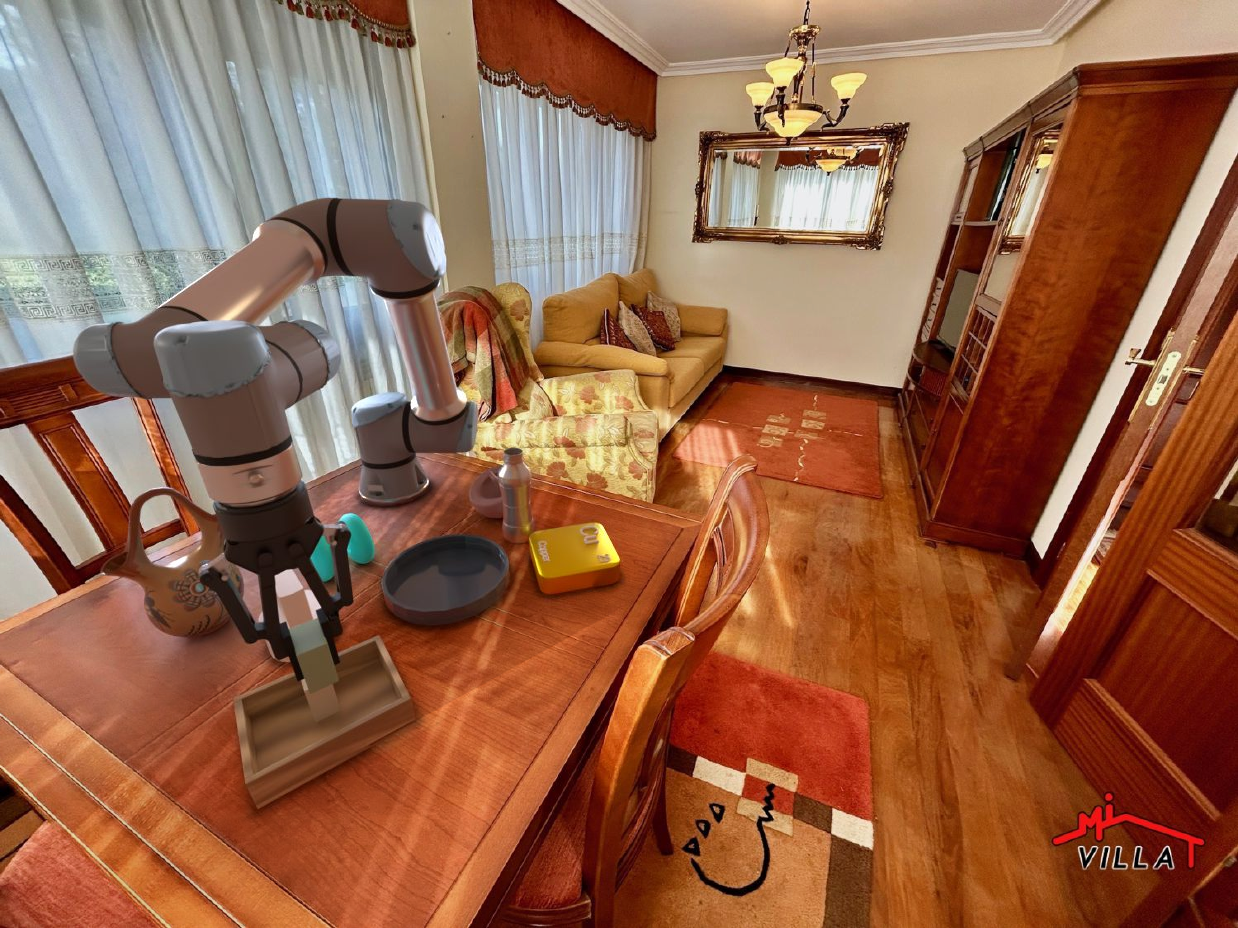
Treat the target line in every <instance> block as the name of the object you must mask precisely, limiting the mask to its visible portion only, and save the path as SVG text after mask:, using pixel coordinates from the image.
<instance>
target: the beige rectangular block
mask: <svg viewBox="0 0 1238 928" xmlns="http://www.w3.org/2000/svg"><path fill="white" fill-rule="evenodd" d="M301 682H302V685H303V689H304V692H305V695H306V698H307V700H308V703H309V706H310V709H311V711H312V714H313V717H314V720H315V722H316V723H317V722H319V721H321V720H323V719H325V718H327V717H329V716H331V715H333V714H335V713H337V712H339V711H341V709H340V706H339V703H338V700H337V696H336V693H335V690H334V687H333V684H331V685H329V686H327V687H325V688H322V689H320V690H318V691H316V692H314V693H312V694H310V693H309V690H308V687H307V684H306V681H305V679H303V680H301Z"/></svg>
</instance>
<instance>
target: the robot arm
mask: <svg viewBox="0 0 1238 928" xmlns="http://www.w3.org/2000/svg"><path fill="white" fill-rule="evenodd" d="M445 251H446V247H445V241H444V239H443V235H442V232H441V229H440V226H439V224H438V222H437V220H436V217H435V216H434V214H433V213H432V212H431V210H430V209H429V208H428V207H426V205H425V204H423V203H421V202H418V201H409V200H402V199H399V198H392V199H376V198H375V199H374V198H340V197H320V198H316V199H311V200H308V201H304V202H302V203H299V204H296V205H294V206H292V207H289V208H287V209H285V210H283V211H281V212H279V213H277V214H275V215H273V216H271V217H269V219H266V220H265V221H264V222H262V223H261V224H259V225H258V226H257V227H256V228H255V230H254V232H253V235H252V240H251V241H250V242H249V243H248V244H246V245H245V246H243V247H242V248H241V249H239V250H238V251H236V252H235V253H233V254H232V255H230V256H229V257H227V258H226V259H225V260H224V261H222V262H221V263H219V264H217V265H216V266H215V267H213V268H212V269H211V270H209V271H208V272H206V273H205V274H203V275H202V276H201V277H199V278H197V279H196V280H194V281H193V282H192V283H191V284H189V285H188V286H186V287H185V288H183V289H182V290H181V291H179V292H178V293H176V294H175V295H173V296H172V297H170V298H169V299H168V300H166V301H165V302H163V303H162V304H161V305H159V306H158V307H156V308H155V309H153V310H152V311H150V312H149V313H147V314H145V315H144V316H143V317H141V318H140V319H138V320H136V321H134V322H129V323H125V322H123V321H112V322H109V323H98V324H92V325H90V326H87V327H85V328H84V329H83V330H81V332H79V334H78V335H77V337H76V339H75V340H74V344H73V348H72V358H73V361H74V365H75V368H76V370H77V372H78V373H79V374H80V375H81V377H82V379H83V380H84V381H85V382H86V384H88V386H90V387H91V388H92V389H94V390H96V391H97V392H99V393H101V394H104V395H107V396H110V397H120V398H139V399H143V400H152V399H171V401H172V402H173V406H174V408H175V411H176V413H177V415H178V417H179V420H180V423H181V425H182V427H183V429H184V432H185V434H186V437H187V439H188V441H189V444H190V447H191V452H192V455H193V457H194V461H195V464H196V466H197V469H198V471H199V474H200V476H201V477H200V478H202V482H203V484H204V487H205V490H206V492H207V495H208V498H210V499H211V500H212V501H213V503H212V508H213V511H214V514H216V516H217V519H218V521H219V524H220V527H221V529H222V532H223V534H224V537H225V544H224V547H223V551H224V553H223V554H221V555H220V556H218V557H217V558H215V559H214V560H212V561H208V560H206V561H203V562H201V563H200V564H199V566H198V569H199V579H200V582H201V583H202V584H204V585H205V586H207V587H208V588H210V589H211V590H213V591H214V592H216V593H217V595H218V597H219V598H220V600H221V602H222V603H223V605H224V607H225V609H226V610H227V612H228V614H229V615H230V617H231V619H230V620H232V623H233V624H234V625H235V627H236V629H237V631H238V633H239V634H240V636H241V637H242V639H243V641H244V643H246V644H247V645H253V644H255V643H257V642H258V641H263V640H264V641H265V640H268V641H269V643H270V645H271V648H272V651H273V653H274V656H275V658H276V659H277V660H276V659H275V660H276V661H278V662H280V661H279V660H282V659H284V658H286V657H289V659H290V662H289V663H290V664H291V667H292V670H293V672H294V673H295V676H296V679H297V681H300V680H303V679H304V676H303V673H302V670H301V667H300V664H299V661H298V659H297V656H296V652H295V647H294V644H293V641H292V637H291V634H290V631H289V628H288V625H287V623H286V622H283V623H280V621H279V613H278V604H277V595H276V582H275V575H278V574H280V573H282V572H283V571H285V570H290V569H292V570H296V569H298V570H299V572H300V574H301V576H302V577H303V578H304V580H305V582H306V584H307V586H308V587H309V590H311V591H312V592H313V594H314V596H315V598H316V599H317V601H318V603H319V605H320V606H321V608H320V609H317V610H315V611H316V614H317V617H318V620H319V623H320V626H321V629H322V631H323V634H324V637H325V638H326V641H327V643H328V647H329V650H330V653H331V656H332V660H333V663H334V665H336V664H339V663H341V662H340V659H339V656H338V653H339V652H338V649H337V646H336V642H335V638H336V637H339V636H342V635H343V631H344V630H343V626H342V623H341V619H340V611H341V610H342V609H343V608H344V607H345V608H348V607H350V606H352V605H353V604H354V601H355V599H354V593H353V583H352V576H351V569H350V562H349V561H350V560H349V556H348V553H347V548H348V545H349V542H350V538H351V532H350V530H349V528H348V527H347V525H346V523H345V522H344V521H339V520H338V521H336V522H335V523H334V524H333V523H322V521H321V520H320V519H319V518H318V517H317V516H316V515H315V514H314V510H313V507H312V502H311V499H310V495H309V492H308V489H307V485H306V482H305V481H303V480H302V479H303V475H304V474H303V471H302V467H301V464H300V459H299V457H298V454H297V450H296V447H295V443H294V440H293V437H292V433H291V430H290V425H289V422H288V418H287V413H286V410H288V409H290V408H291V407H294V405H296V404H297V403H299V402H300V401H302V400H304V399H306V398H307V397H309V396H310V395H312V394H314V393H315V392H317V391H320V390H321V389H323V388H325V386H326V385H328V382H329V381H330V380H332V379H333V378H334V377H335V376H336V375H337V373H338V372H339V370H340V367H341V363H342V356H341V350H340V347H339V345H338V343H337V341H336V340H335V338H334V337H333V335H332V334H331V333H330V332H329V331H328V330H326V329H325V327H322V326H321V325H319V324H317V323H316V322H313V321H310V320H307V319H292V320H280V321H278V322H276V323H274V324H273V325H262V324H263V323H264V321H266V320H267V319H268V318H269V317H270V316H271V315H272V314H273V313H274V312H275V311H277V309H278V308H279V307H280V306H281V305H282V304H284V303H285V301H287V300H288V298H290V296H292V295H293V294H294V293H295V292H296V291H297V290H298V289H299V288H301V286H302V287H305V286H309V285H313V284H315V283H316V282H318V281H319V280H320V279H321V278H324V277H358V278H359V277H361V278H366V280H367V282H368V285H369V287H370V290H371V292H372V294H373V295H374V296H376V297H378V298H380V299H382V300H383V301H384V304H385V308H386V310H387V314H388V317H389V320H390V323H391V326H392V328H393V332H394V335H395V338H396V341H397V345H398V347H399V351H400V354H401V357H402V360H403V363H404V366H405V369H406V372H407V375H408V379H409V382H410V385H411V387H412V391H413V394H414V396H413V397H412V399H411V401H409V398H408V396H407V395H406V394H405V393H404V392H399V391H391V392H383V393H382V392H381V393H377V394H373V395H371V396H368V397H365V398H363V399H360V400H358V401H357V402H356V403H354V405H352V407H351V411H350V413H351V421H352V428H353V431H354V435H355V440H356V444H357V449H358V453H359V456H360V461H361V472H360V479H359V485H358V493H359V497H360V500H361V501H362V502H363V503H365V504H367V505H370V506H375V507H394V506H395V507H396V506H400V505H404V504H408V503H410V502H413V501H416V500H418V499H419V498H421V497H423V496H424V495H425V494H426V493H427V492H428V490H429V488H430V481H429V477H428V475H427V473H426V471H425V470H424V468H423V466H422V464H421V463H420V461H419V459H418V457H417V454H454V455H456V454H462V453H469V452H471V451H472V450H473V449H474V447H475V444H476V440H477V434H478V423H479V407H478V404H477V402H475V401H472V400H469V401H468V398H467V395H466V393H465V392H464V391H463V390H462V389H461V388H459V387H457V383H456V380H455V379H456V378H455V375H454V371H453V367H452V363H451V359H450V358H451V357H450V355H449V349H448V345H447V341H446V336H445V333H444V328H443V325H442V324H443V323H442V321H441V315H440V311H439V308H438V304H437V300H436V296H435V291H436V290H437V289H439V287H440V286H441V285H440V284H441V278H443V277H444V276H445V274H446V271H447V256H446V253H445ZM322 536H324V537H325V539H326V541H327V543H328V544H329V545H330V548H331V555H332V562H333V569H334V576H333V577H334V581H335V582H334V583H335V589H336V592H335V593H334V594H333V595H331V594H330V591H329V590H328V588H327V586H326V584H325V582H324V581H322V579H321V577H320V575H319V573H318V572H317V570H316V568H315V566H314V564H313V562H312V560H311V559H310V557H311V555H312V554H313V552H314V550H315V548H316V546H317V544H318V542H319V541H320V539H321V537H322ZM232 563H233V564H235V565H236V566H237V567H238V568H239V567H240V568H242V569H244V570H245V571H248V572H251V573H252V574H255V575H257V580H258V588H259V595H260V603H261V604H260V605H261V610H262V611H261V612H263V622H259V621H258V622H256V620H255V619H254V617H253V614H252V613H251V611H250V609H249V608H248V606H247V604H246V603H245V600H244V598H243V599H242V597H241V595H240V593H239V592H238V590H237V588H236V586H235V584H234V583H233V581H232V579H231V575H232V572H231V567H230V565H231V564H232Z"/></svg>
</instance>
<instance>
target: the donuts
mask: <svg viewBox="0 0 1238 928" xmlns="http://www.w3.org/2000/svg"><path fill="white" fill-rule="evenodd" d="M338 521H344V522H345V523H346V525H347V527H348V528H349V530H350V532H351V538H350V542H349V545H348V548H347V553H348V558H349V559H351V560H352V561H354V562H355V563H357V564H360V565H366V564H368V563H371V562H372V561H373V560H374V558H375V555H376V549H375V544H374V540H373V537H372V535H371V532H370V530H369V527H368V526H367V525H366V522H365V521H364V520H363V519H362V518H361V517H360V516H359V515H358V514H356V513H352V512H349V513H345V514H343V515H342V516H341V517H340V519H338ZM310 559H311V560H312V562H313V564H314V566H315V568H316V570H317V572H318V573H319V575H320V577H321V579H322V581H323V582H328V581H330V580H331V579H332V578H334V577H335V576H334V569H333V562H332V555H331V548H330V545H329V544H328V543H327V541H326V539H325V537H324V536H322V537H321V539H320V541H319V542H318V544H317V546H316V548H315V550H314V552H313V554H312V555H311V557H310Z"/></svg>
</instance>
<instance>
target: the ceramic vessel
mask: <svg viewBox="0 0 1238 928" xmlns="http://www.w3.org/2000/svg"><path fill="white" fill-rule="evenodd" d="M159 496H168V497H171V498H173V499H174V500H175V502H177V503H178V504H179V505H181V506H182V507H183V508H184V509H185V510H186V511H187V512H188V513H189V514H190V515H191V517H192V518H193V520H194V521H195V523H196V524H197V526H198V528H199V530H200V533H201V539H200V542H199V544H198V546H197V547H196V548H195V549H194V550H193V551H192V552H190V553H188V554H187V555H184V556H181V557H180V558H177V559H175V560H173V561H171V562H169V563H166V564H157V563H155V562H152V561H151V560H150V558H149V557H148V555H147V552H146V550H145V548H144V544H143V540H142V535H141V514H142V508H143V506H144V504H145V503H146V502H148V501H149V500H151V499H153V498H155V497H159ZM225 541H226V540H225V537H224V534H223V532H222V529H221V527H220V524H219V521H218V519H217V516H216V513H212V514H211V512H209V511H206V510H205V509H203V508H202V507H200V506H198V505H197V504H196V503H194V502H193V501H192V500H190V499H189V498H188V497H187V496H186V495H185V494H183V493H182V492H180V490H177V489H175V488H172V487H155V488H149V489H148V490H146V491H144V492H143V493H141V494H140V495H138V496H137V497H135V499H134V500H133V502H132V503H131V505H130V508H129V513H128V530H127V539H126V544H125V546H124V547H125V548H124V550H123V551H122V552H119V553H117V554H115V555H113V556H111V557H109V558H108V559H107V560H106V561H105V562H104V563H103V564H102V566H101V567H100V574H101V575H103V576H108V577H116V578H117V577H118V578H124V579H127V580H131V581H134V582H136V584H138V585H139V586H140V587H141V588H142V590H143V592H144V598H143V606H144V610H145V614H146V616H147V619H148V620H149V622H150V623H151V624H152V625H153V626H154V628H156V629H157V630H159V631H160V632H162V633H163V634H164V633H165V634H166V635H169V636H173V637H176V638H197V637H202V636H206V635H208V634H211V633H213V632H215V631H217V630H219V629H220V628H222V627H223V626H225V625H226V624H227V623H228V622H229V621H230V620H232V619H231V617H230V615H229V614H228V612H227V610H226V609H225V607H224V605H223V603H222V602H221V600H220V598H219V597H218V595H217V593H216V592H214V591H213V590H211V589H210V588H208V587H207V586H205V585H204V584H202V583H201V582H200V579H199V569H198V566H199V564H200V563H201V562H203V561H206V560H208V561H212V560H214V559H215V558H217V557H218V556H220V555H221V554H223V553H224V551H223V547H224V544H225ZM230 567H231V572H232V575H231V579H232V581H233V583H234V584H235V586H236V588H237V590H238V592H239V593H240V595H241V597H242V599H243V600H244V594H245V582H244V577H243V574H242V572H241V570H240V568H239V566H237V565H235V564H233V563H232V564H231V565H230Z"/></svg>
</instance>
